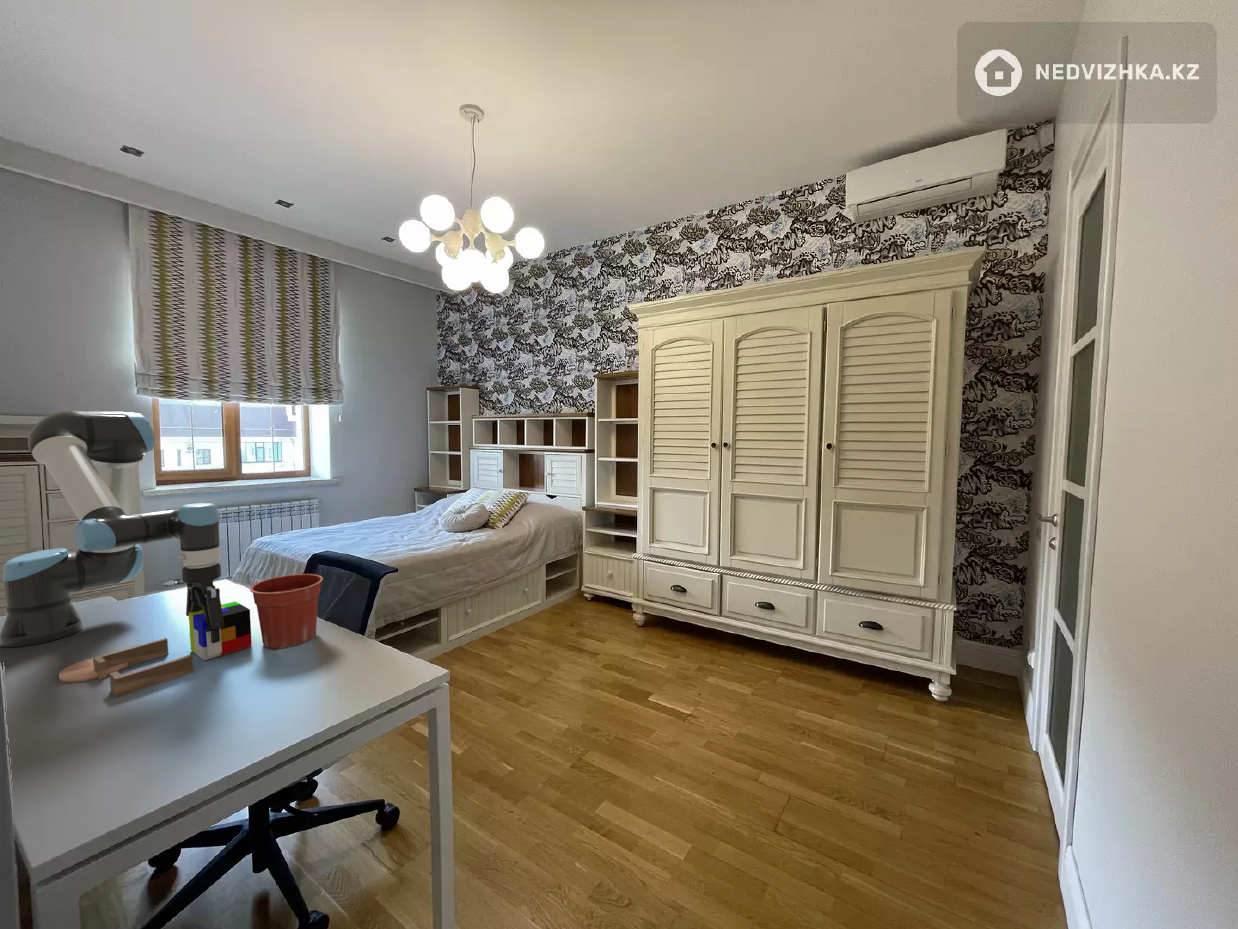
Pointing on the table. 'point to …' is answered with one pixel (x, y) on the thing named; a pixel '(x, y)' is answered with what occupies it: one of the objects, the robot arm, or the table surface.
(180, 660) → the pocket frame
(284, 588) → the flower pot
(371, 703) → the table surface
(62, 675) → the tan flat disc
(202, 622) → the puzzle toy
